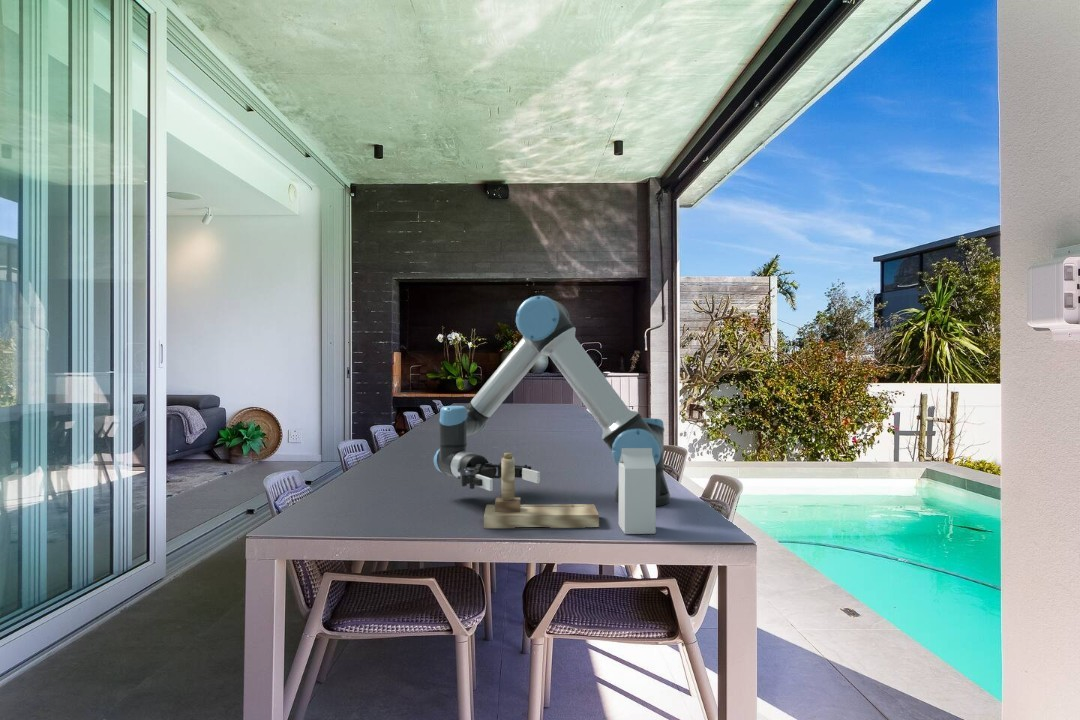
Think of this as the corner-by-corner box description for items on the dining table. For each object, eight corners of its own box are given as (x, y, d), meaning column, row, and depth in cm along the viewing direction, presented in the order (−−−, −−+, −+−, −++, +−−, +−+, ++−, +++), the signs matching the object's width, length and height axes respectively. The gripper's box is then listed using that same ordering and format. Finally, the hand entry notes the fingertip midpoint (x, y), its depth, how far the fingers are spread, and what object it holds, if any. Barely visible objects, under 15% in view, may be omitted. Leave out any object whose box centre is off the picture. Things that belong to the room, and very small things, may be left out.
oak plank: (593, 516, 149) (593, 503, 149) (598, 527, 139) (599, 514, 139) (486, 516, 148) (486, 504, 148) (483, 528, 138) (483, 515, 138)
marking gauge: (520, 507, 145) (520, 452, 145) (520, 511, 141) (520, 454, 141) (495, 507, 145) (496, 452, 145) (495, 512, 141) (495, 454, 141)
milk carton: (655, 534, 134) (656, 450, 134) (624, 535, 133) (624, 450, 133) (647, 525, 141) (648, 445, 141) (618, 525, 140) (618, 446, 140)
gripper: (509, 476, 165) (556, 490, 148) (427, 487, 150) (469, 504, 133) (509, 449, 165) (556, 460, 148) (427, 458, 150) (469, 471, 133)
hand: (515, 481), depth 140 cm, fingers open, 13 cm apart
